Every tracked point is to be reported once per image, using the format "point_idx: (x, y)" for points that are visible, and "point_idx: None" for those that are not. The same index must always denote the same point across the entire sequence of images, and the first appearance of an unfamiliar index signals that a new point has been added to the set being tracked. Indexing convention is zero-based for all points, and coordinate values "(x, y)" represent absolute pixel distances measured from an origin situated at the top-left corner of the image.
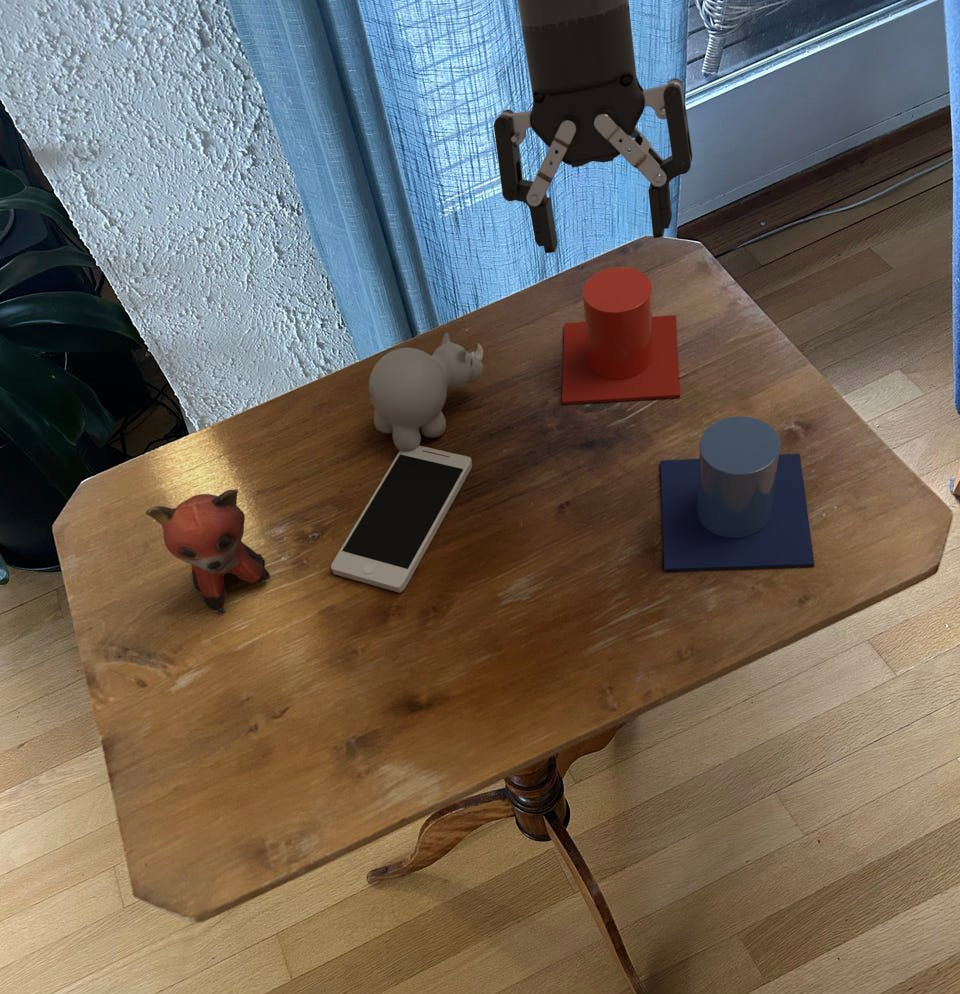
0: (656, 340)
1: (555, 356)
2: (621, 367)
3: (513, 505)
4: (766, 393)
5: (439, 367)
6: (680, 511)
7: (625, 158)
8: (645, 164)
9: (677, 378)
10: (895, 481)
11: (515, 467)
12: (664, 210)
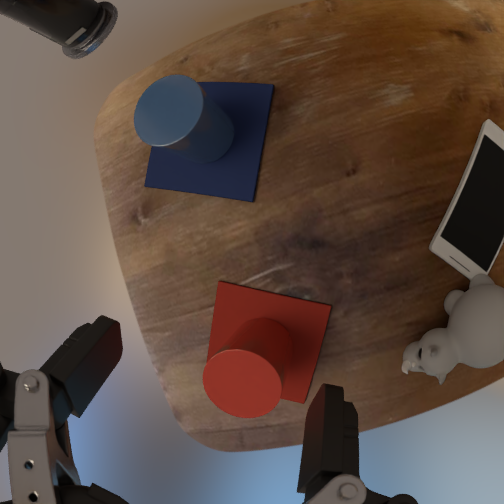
0: None
1: (322, 369)
2: (263, 323)
3: (398, 185)
4: (152, 263)
5: (460, 337)
6: (247, 138)
7: (47, 457)
8: (32, 422)
9: (216, 302)
10: (102, 154)
11: (390, 233)
12: (72, 345)
